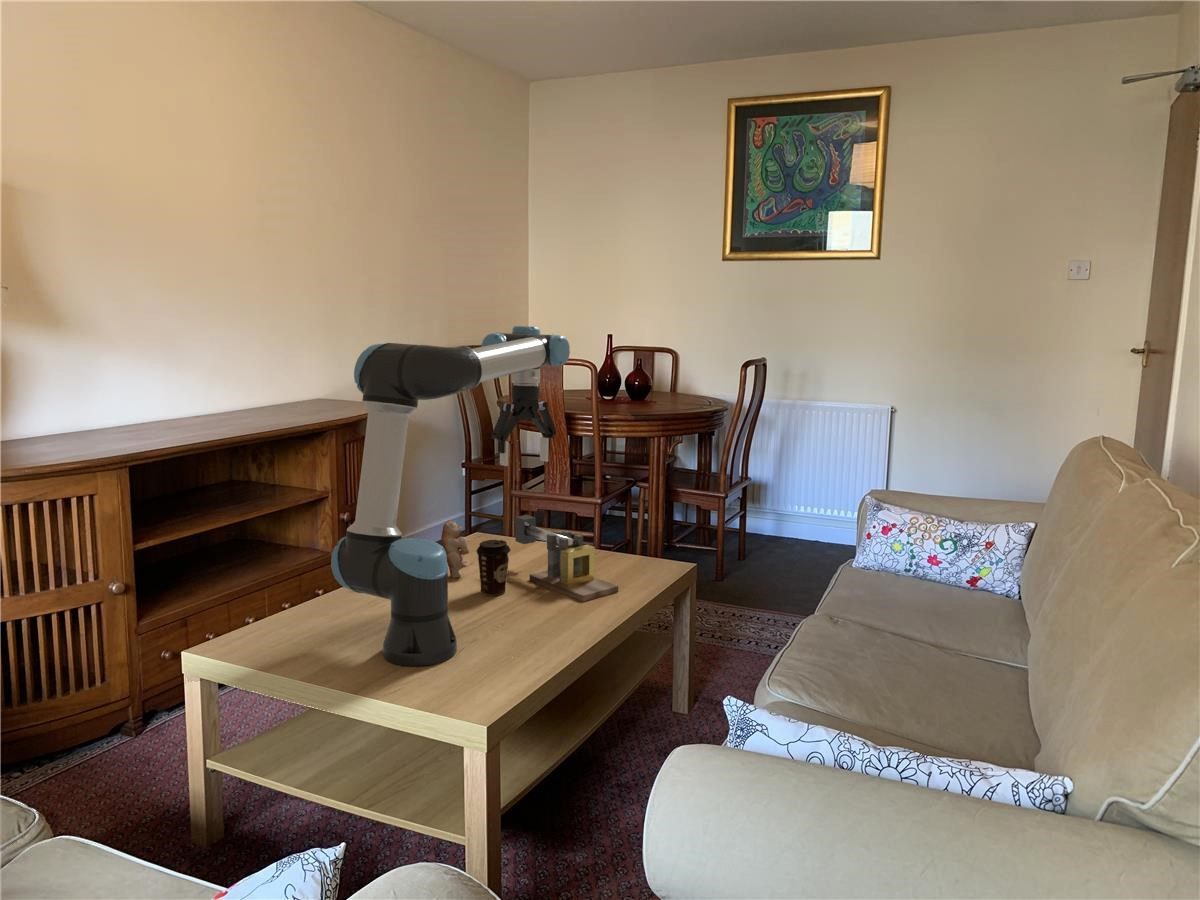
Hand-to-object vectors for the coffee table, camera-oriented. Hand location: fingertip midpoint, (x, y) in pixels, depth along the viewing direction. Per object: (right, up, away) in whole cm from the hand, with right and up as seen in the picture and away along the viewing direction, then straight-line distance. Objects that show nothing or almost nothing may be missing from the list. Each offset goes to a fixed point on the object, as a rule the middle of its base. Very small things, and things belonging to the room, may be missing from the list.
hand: (524, 463), depth 227 cm
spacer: (+14, -31, -7) cm, 35 cm away
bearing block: (+13, -32, -6) cm, 35 cm away
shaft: (+6, -23, +2) cm, 24 cm away
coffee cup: (-7, -33, -12) cm, 36 cm away
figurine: (-19, -31, +2) cm, 36 cm away
